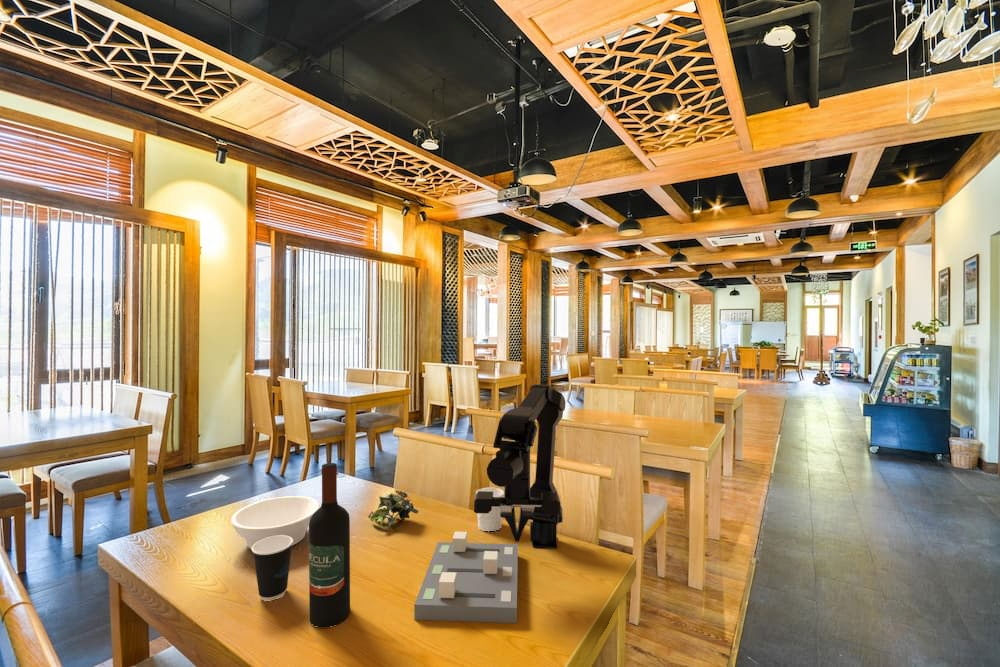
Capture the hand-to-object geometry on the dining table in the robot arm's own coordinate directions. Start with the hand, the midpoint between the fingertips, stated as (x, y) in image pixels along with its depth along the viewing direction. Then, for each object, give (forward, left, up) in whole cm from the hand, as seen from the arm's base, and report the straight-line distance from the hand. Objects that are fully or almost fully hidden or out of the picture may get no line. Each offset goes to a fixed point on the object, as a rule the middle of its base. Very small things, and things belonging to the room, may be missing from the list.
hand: (517, 540), depth 99 cm
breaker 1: (+14, +9, -6) cm, 18 cm away
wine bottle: (+37, +12, -10) cm, 40 cm away
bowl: (+64, -17, -10) cm, 67 cm away
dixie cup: (+52, +6, -10) cm, 53 cm away
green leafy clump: (+36, -28, -10) cm, 47 cm away
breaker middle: (+6, 0, -7) cm, 9 cm away
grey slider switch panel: (+10, 0, -10) cm, 14 cm away
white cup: (+8, -28, -10) cm, 31 cm away
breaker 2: (+14, -9, -6) cm, 18 cm away
